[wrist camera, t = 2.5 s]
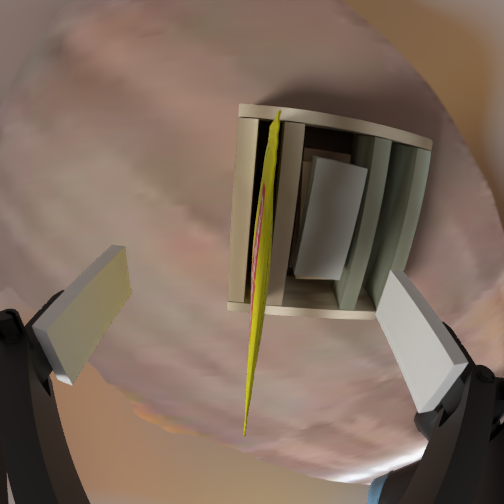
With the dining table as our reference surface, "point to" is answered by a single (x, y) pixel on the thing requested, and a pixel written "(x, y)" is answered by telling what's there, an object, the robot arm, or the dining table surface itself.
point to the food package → (261, 255)
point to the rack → (367, 223)
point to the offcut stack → (325, 213)
